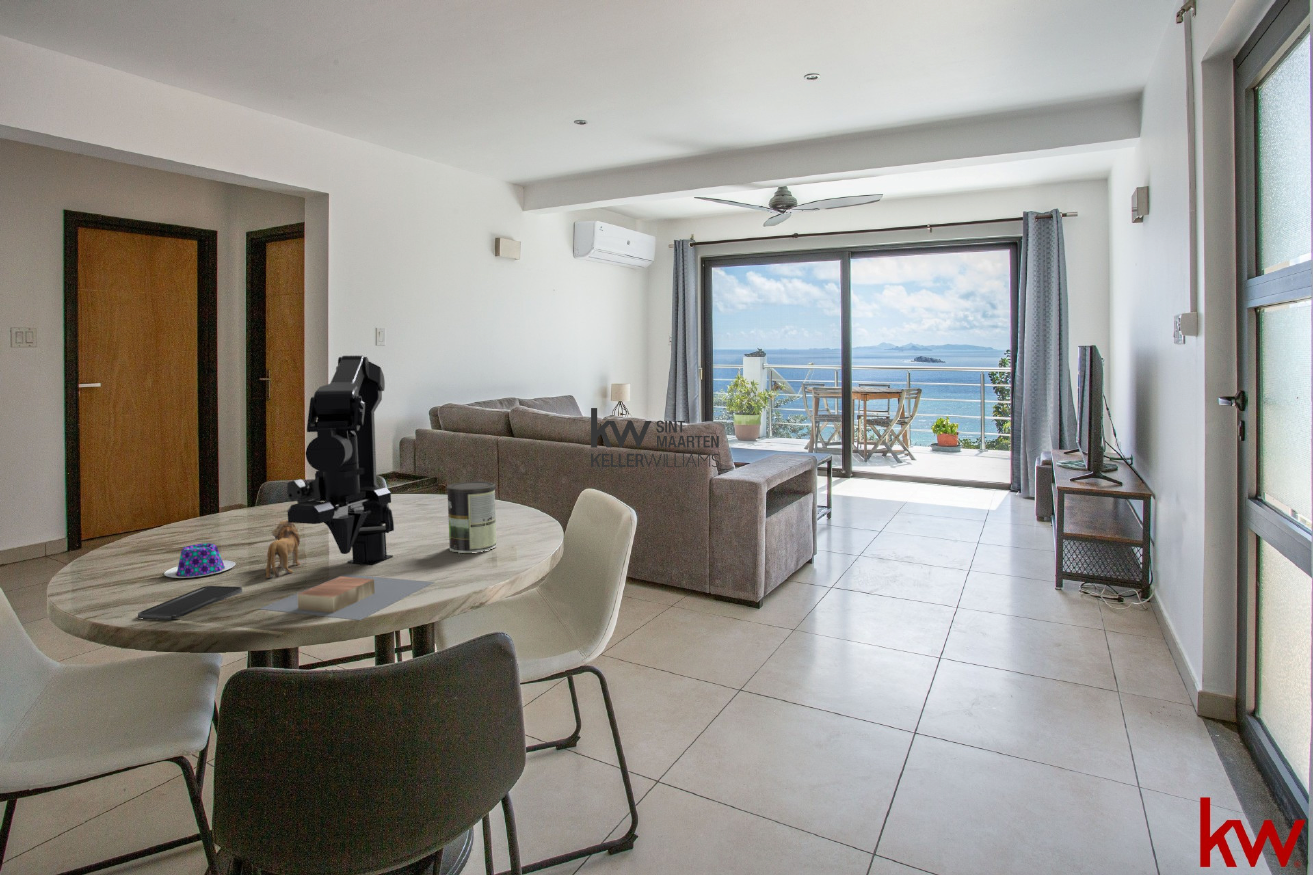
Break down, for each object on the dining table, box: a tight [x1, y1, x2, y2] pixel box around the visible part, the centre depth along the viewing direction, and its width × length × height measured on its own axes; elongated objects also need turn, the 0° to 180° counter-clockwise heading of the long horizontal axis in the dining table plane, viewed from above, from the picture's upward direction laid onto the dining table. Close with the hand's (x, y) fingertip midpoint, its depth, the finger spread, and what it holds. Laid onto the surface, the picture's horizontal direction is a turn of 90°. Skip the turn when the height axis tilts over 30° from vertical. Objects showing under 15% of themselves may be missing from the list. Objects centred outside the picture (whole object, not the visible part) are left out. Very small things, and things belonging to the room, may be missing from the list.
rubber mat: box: [258, 573, 435, 621], centre depth 123 cm, size 20×20×1 cm
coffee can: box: [446, 480, 497, 554], centre depth 154 cm, size 10×10×14 cm
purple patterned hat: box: [163, 542, 236, 579], centre depth 140 cm, size 12×12×5 cm
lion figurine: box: [265, 519, 301, 579], centre depth 139 cm, size 15×5×9 cm, turn 21°
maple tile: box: [297, 575, 375, 613], centre depth 119 cm, size 2×7×10 cm
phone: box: [137, 585, 243, 622], centre depth 120 cm, size 8×1×15 cm
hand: (345, 553), depth 121 cm, fingers closed
